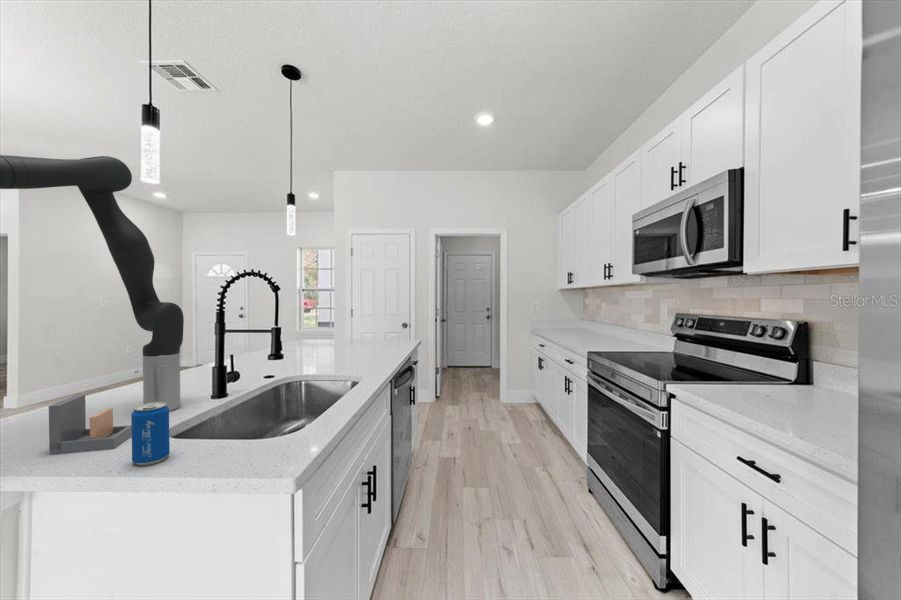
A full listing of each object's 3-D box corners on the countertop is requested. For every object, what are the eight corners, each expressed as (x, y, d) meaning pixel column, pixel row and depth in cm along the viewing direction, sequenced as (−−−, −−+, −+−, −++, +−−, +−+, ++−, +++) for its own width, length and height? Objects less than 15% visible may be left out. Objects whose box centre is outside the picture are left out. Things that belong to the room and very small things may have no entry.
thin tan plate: (90, 443, 89) (89, 417, 89) (107, 433, 96) (106, 408, 96) (96, 443, 90) (96, 416, 90) (113, 432, 96) (112, 408, 96)
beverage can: (128, 469, 80) (127, 412, 79) (136, 457, 85) (135, 403, 85) (166, 463, 83) (165, 407, 82) (172, 451, 88) (171, 400, 88)
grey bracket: (49, 454, 86) (48, 406, 86) (76, 439, 95) (75, 395, 95) (114, 448, 90) (113, 402, 90) (133, 434, 99) (133, 391, 98)
